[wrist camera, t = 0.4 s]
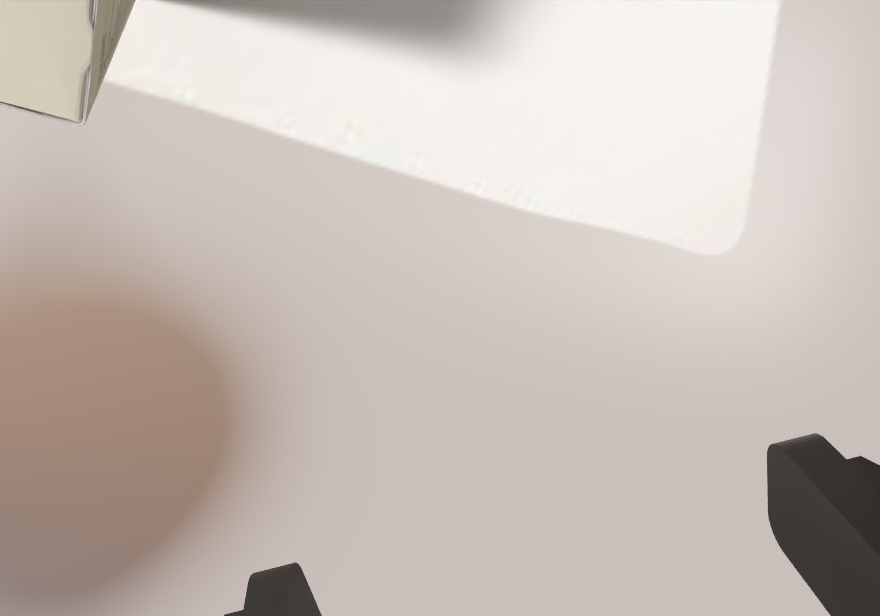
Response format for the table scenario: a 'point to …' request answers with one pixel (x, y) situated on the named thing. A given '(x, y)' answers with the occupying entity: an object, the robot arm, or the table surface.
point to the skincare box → (57, 54)
